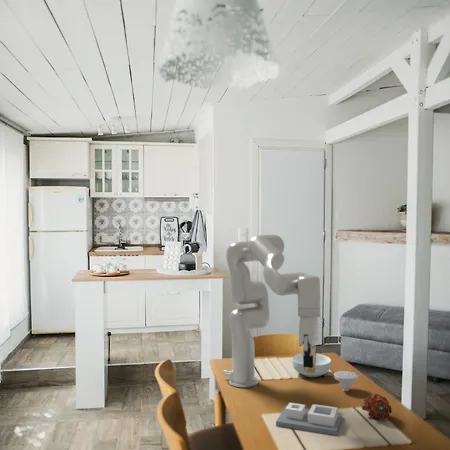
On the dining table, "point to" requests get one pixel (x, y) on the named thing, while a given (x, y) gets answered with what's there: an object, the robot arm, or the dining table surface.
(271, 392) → the dining table surface
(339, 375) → the showerhead
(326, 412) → the socket board
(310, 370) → the gold rounded cylinder
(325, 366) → the cereal bowl
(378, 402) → the dragon fruit
